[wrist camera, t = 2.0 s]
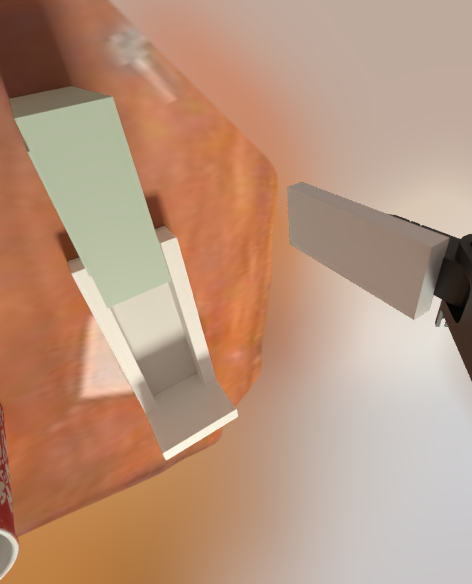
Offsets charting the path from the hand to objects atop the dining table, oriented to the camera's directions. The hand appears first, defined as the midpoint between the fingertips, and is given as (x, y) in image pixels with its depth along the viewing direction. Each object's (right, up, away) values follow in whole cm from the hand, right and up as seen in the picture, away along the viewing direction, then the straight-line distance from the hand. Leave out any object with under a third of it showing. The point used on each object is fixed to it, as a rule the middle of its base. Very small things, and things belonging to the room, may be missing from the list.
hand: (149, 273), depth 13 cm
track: (-6, -4, +24) cm, 25 cm away
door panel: (-9, +9, +13) cm, 18 cm away
